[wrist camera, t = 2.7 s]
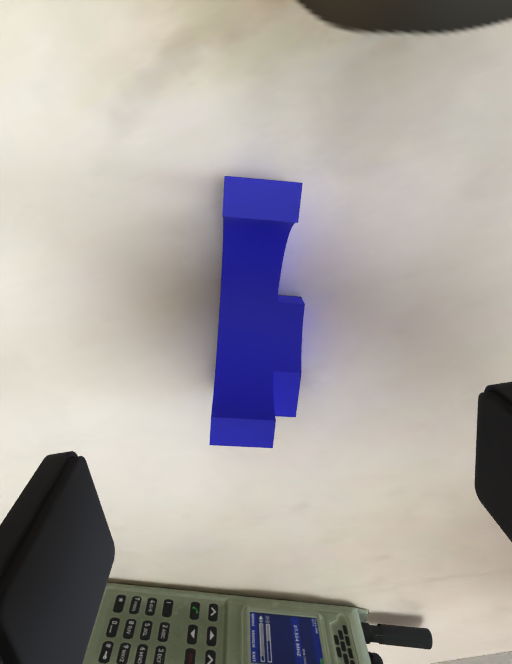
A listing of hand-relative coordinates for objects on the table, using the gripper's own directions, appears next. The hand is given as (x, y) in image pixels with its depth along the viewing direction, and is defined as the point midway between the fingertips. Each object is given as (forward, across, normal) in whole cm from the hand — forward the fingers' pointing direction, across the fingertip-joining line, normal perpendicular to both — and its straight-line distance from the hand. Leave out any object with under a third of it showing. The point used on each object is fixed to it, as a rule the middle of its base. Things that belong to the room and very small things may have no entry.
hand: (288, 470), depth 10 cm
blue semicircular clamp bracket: (+15, 0, 0) cm, 15 cm away
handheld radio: (+15, +3, +24) cm, 28 cm away
